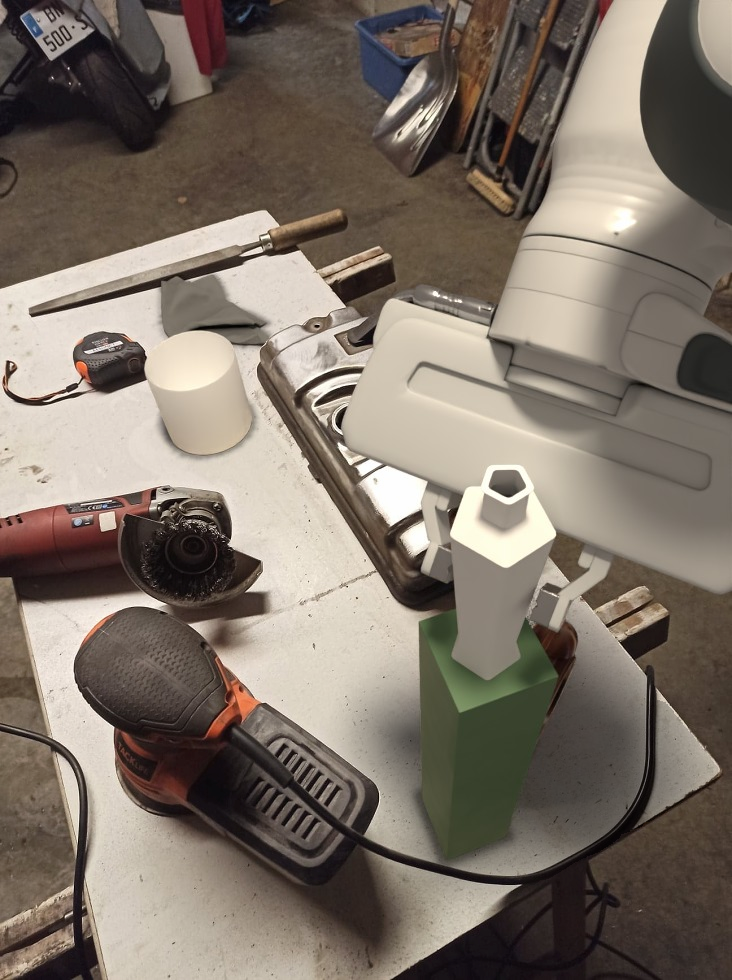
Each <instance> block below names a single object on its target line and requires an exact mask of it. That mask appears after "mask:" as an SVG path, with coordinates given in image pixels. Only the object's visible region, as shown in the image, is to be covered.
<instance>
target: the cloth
mask: <svg viewBox="0 0 732 980" xmlns="http://www.w3.org/2000/svg"><path fill="white" fill-rule="evenodd" d="M160 282H161V283H160V286H161V288H160V310H161V311H160V312H161V321H162V328H163V331H164V332H165V333H166V335H167V336H168V338H170V337H172V336H174V335H177V334H180V333H184V332H189V331H209V332H213V333H217V334H219V335H221V336H223V337H225V338H226V339H227V340H229V341H230V343H231V344H246V345H247V344H249V345H251V344H252V345H266V344H265V343H266V341H267V340H268V339H269V338H270V337H269V335H267V333H265V332H264V331H263V330H262V329H261V328H259V327H261V326H263V325H266V324H267V321H265V320H263V319H261V318H259V317H257V316H255V315H254V314H252V313H250V312H248V311H247V310H244V309H243V308H242V307H240V306H238V304H235V303H234V302H232V301H228V300H227V299H226V297H225V292H224V289H223V287H222V286H221V284H220V282H219V280H218V279H217V278H216V276H215V275H214V274H210V275H206V276H204V277H201V278H198V279H196V280H194V281H193V282H192V281H190V280H187V281H186V280H184V279H183V278H182V277H179V276H174V277H172V278H170V279H169V280H167V281H166V280H160ZM258 326H259V327H258Z"/></svg>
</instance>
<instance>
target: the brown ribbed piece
mask: <svg viewBox="0 0 732 980" xmlns="http://www.w3.org/2000/svg"><path fill="white" fill-rule="evenodd" d="M532 629H533V631H534V633H535V634H536V636H537V638H538V640H539V642H540V643H541V645H542V647H543V649H544V651H545V652H546V654H547V656H548V658H549V660H550V662H551V663H552V665H553V667H554V669H555V671H556V672H557V674H558V679H557V683H556V686H555V689H554V692H553V695H552V698H551V701H550V704H549V707H548V710H547V713H546V716H545V719H544V722H543V725H542V728H541V731H540V735H539V738H538V740H539V739H540V738H541V736H542V734H543V733H544V731H545V729H546V727H547V725H548V723H549V721H550V719H551V717H552V715H553V713H554V711H555V709H556V707H557V705H558V703H559V701H560V699H561V696H562V694H563V692H564V691H565V688H566V686H567V684H568V682H569V678H570V677H571V674H572V673H573V670H574V667H575V664H576V662H577V657H576V652H577V649H578V645H579V636H578V632H577V630H576V628H575V627H574V626H573V624H571V623H570V622H569V620H567V619H566V618H565V621H564V623H563V625H562V627H561V629H560V630H559V631H558V633H557V632H555V631H553V630H551V629H548V628H546V627H544V626H541V625H539V624H537V623H535V622H534V625H532Z"/></svg>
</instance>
